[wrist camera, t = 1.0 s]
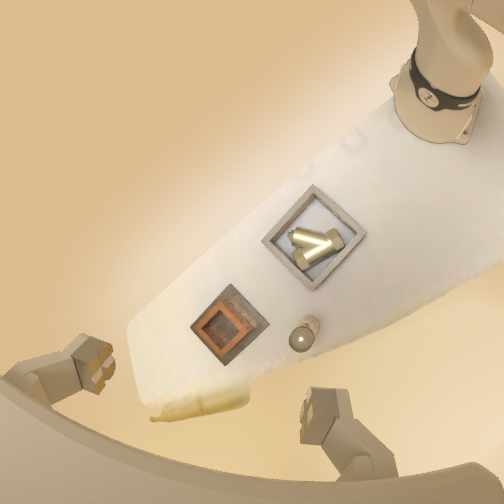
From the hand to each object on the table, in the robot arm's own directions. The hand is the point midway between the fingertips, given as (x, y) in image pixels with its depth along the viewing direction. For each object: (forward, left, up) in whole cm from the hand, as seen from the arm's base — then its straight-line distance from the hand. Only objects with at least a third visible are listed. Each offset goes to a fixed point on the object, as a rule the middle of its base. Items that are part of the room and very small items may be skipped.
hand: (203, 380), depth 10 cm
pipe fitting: (-6, -5, -40) cm, 41 cm away
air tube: (+4, +4, -39) cm, 40 cm away
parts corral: (-7, -6, -39) cm, 40 cm away
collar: (+15, -6, -39) cm, 43 cm away
